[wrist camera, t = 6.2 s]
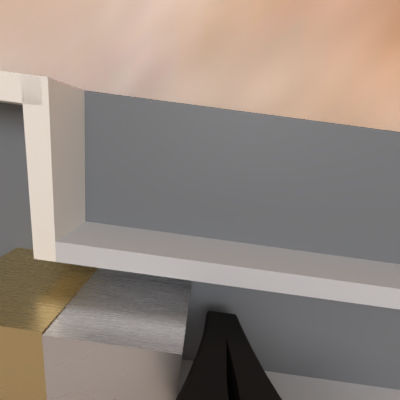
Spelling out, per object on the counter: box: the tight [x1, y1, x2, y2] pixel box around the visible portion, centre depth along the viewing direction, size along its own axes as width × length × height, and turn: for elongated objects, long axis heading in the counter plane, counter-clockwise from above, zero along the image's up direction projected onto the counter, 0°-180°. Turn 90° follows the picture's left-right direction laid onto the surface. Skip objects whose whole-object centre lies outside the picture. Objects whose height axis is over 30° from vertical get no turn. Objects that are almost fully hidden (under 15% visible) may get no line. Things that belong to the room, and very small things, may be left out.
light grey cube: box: [42, 268, 192, 400], centre depth 9 cm, size 4×4×4 cm
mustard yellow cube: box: [0, 247, 98, 400], centre depth 9 cm, size 4×4×4 cm
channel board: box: [0, 71, 400, 400], centre depth 10 cm, size 18×33×3 cm, turn 83°
